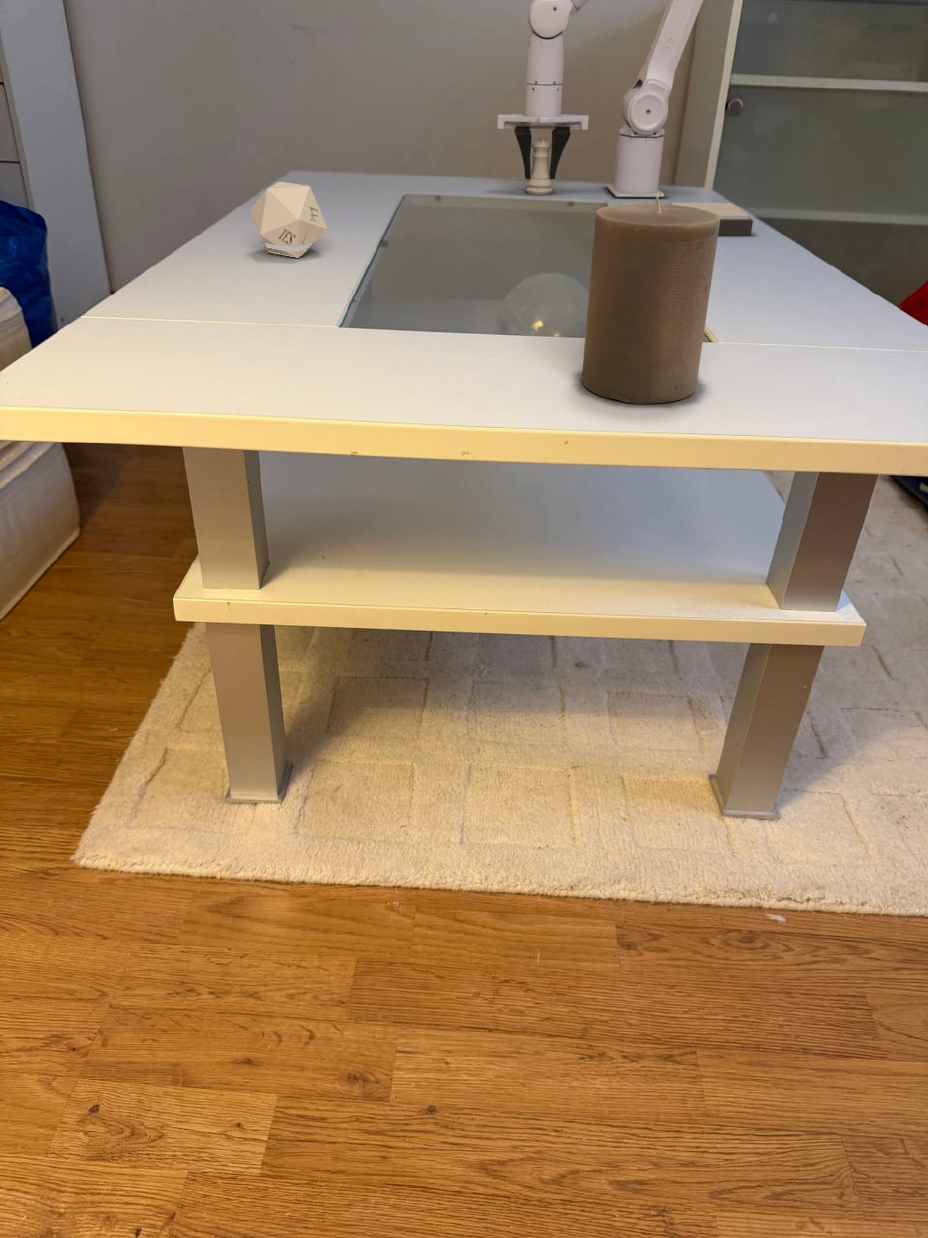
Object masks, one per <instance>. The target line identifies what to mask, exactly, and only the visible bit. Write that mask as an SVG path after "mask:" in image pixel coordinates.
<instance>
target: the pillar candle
mask: <svg viewBox="0 0 928 1238" xmlns="http://www.w3.org/2000/svg"><path fill="white" fill-rule="evenodd" d="M659 198H660V197H658V195H656V197H655V201H656V203H650V202H648V203H647V202H646V203H645V202H628V203H620V204H613V205H612V204H611V205H607V206H603V207H601V208H598V209H597V210H596V212H595V219H594V221H595V222H594V230H593V231H594V232H593V241H592V242H593V243H592V256H591V266H590V275H589V289H588V300H587V310H586V323H585V335H584V347H583V359H582V360H583V361H582V369H581V370H582V371H581V377H582V382H583V385H584V387H585V388H586V389H587V390H588V391H590V392H591V393H593V394H596V395H598V396H600V397H603V398H606V399H607V398H609V399H611V400H617V401H620V402H624V403H630V404H634V405H645V404H646V405H647V404H664V403H671V402H676V401H679V400H684V399H686V398H689V397H690V396H692V395H693V394H694V393H695V391H696V389H697V385H698V377H699V370H700V363H701V356H702V350H703V343H704V336H705V328H706V320H707V315H708V307H709V301H710V294H711V287H712V280H713V273H714V266H715V259H716V253H717V244H718V239H719V236H718V232H719V225H720V216H719V215H718V214H717V213H714V212H713V211H709V210H702V209H698V208H694V207H688V206H680V205H670V204H666V203H660V199H659Z"/></svg>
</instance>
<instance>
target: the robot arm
mask: <svg viewBox="0 0 928 1238" xmlns="http://www.w3.org/2000/svg"><path fill="white" fill-rule="evenodd" d="M589 1H590V0H533V1H532V2H531V4H530V6H529V9H528V13H527V15H526V17H527V23H528V26H529V28H530V30H531V31H529V35H528V46H529V47H528V49H527V52H526V53H527V55H526V76H525V77H526V79H525V103H524V104H525V106H524V107H525V108H524V113H511V114H505V113H504V114H497V115H496V129H497V130H507V129H509V130H513V132H514V135H515V137H516V141H517V143H518V146H519V150H520V154H521V158H522V161H523V162H522V164H523V170H524V178H525V180H528V179H530V175H531V172H532V170H531V154H532V153H531V151H532V146H531V145H532V138H533V135H532V130H533V129H534V130H551V150H550V151H551V155H550V163H549V176H550V179H551V180H556V174H557V170H558V167H559V163H560V160H561V158H562V155H563V152H564V150H565V148H566V145H567V144H568V142H569V140H570V137H571V133H572V132H571V130H582V131H588V130H589V120H590V119H589V118H590V116H589V115H588V114H568V113H567V114H564V113H562V101H563V100H562V99H563V85H564V67H565V66H564V64H565V49H564V38H565V30H566V28H567V26H568V23H569V20H570V16H571V15H577V14H578V13H579V12H580V11H581V10H582V8H584V6H585V5H586V4H587V3H588V2H589ZM703 2H704V0H668V2H667V4H666V7H665V10H664V13H663V15H662V18H661V20H660V23H659V26H658V28H657V31H656V34H655V36H654V38H653V41H652V44H651V47H650V49H649V51H648V54H647V57H646V60H645V62H644V64H643V65H642V67H641V69H640V70H639V73H638V74H637V78H636V80H635V82H634V84H633V85H632V86H631V87H630V88H629V89H628V90H627V91H626V93H625V94H624V95H623V97H622V100H621V105H620V111H621V116H622V118H623V120H624V122H625V123H624V124H623V126H622V127H621V128H620V129H619V130H618V131H619V132H618V133H619V134H618V140H617V141H618V142H617V145H616V147H615V157H614V168H613V179H612V184H609V183H608V184H606V188H607V189H608V190H609V191H610V192H611V193H612V194H613V195H614V197H616V198H656V195H658V198H665V193H664V192H663V191H661V190H660V189H659V187H660V178H661V177H660V176H661V168H662V160H663V159H662V158H663V150H664V141H665V132H666V131H665V129H664V128H662V127H663V126H664V124H665V123H666V120H667V119H668V115H669V98H670V94H671V92H672V89H673V86H674V80H675V74H676V71H677V69H678V66H679V62H680V60H681V57H682V55H683V53H684V50H685V47H686V45H687V42H688V40H689V37H690V35H691V32H692V30H693V28H694V25H695V22H696V20H697V17H698V16H699V15H698V14H699V12H700V9H701V7H702V4H703Z"/></svg>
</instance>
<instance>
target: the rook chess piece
mask: <svg viewBox="0 0 928 1238" xmlns="http://www.w3.org/2000/svg"><path fill="white" fill-rule="evenodd" d="M550 140H551V139H550V138H546V137H543V139H542V137H538V138H537V137H535V138H534V139H533V142H532V143H531V149H532V150H533V154H532V156H531V157H532V158H533V159H532V166H531V173H530V179H527V180H526V185H527V186H528V187H527V188H525V190H526V193H528V194H529V195H535V196H536V195H539V196H540V195H543V196H544V195H549V194H551V193H552V191H553V188H552V187H551V186H552V185H553V181H552V179H550V176H549V173H550V170H549V158H550V153H549V151H550V149H551V148H552V143H550Z"/></svg>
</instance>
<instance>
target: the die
mask: <svg viewBox="0 0 928 1238" xmlns="http://www.w3.org/2000/svg"><path fill="white" fill-rule="evenodd" d="M249 214H250V215H251V218H252V220H253V223H254V225H255V228H256V230H257V232H258V234H259V237H260V239H261V240H263V241H262V243H263V242H264V243H268V244H273V245H286V246H287V245H289V246H300V245H301V244H302V245H307V244H312V243H314V244H316V243H317V242H318V241H319V240H320V238H322V237H323V235H324V234H326V233H327V231H328V230H329V228H328V226H327V223H326V221H325V219H324V216H323V214H322V212H321V209H320V207H319V205H318V202H317V200H316V197H315V195H314V193H313V190H312V188H311V186H310V185H305V184H299V183H292V182H285V181H277V182H276V183H274V184H272V185H271V186H269V187H267V188H266V189H265V191H263V193H262V194H261V196H260V197H259V198H258V199H257V201H255V203H254V204H253V205H252V207H251V208H250V209H249ZM264 243H263V244H264ZM265 250H266V252H267V251H271V252H275V253H280V254H284V255H289V256H293V257H300V256H301V257H302V256H303V255H304V254H305V253H307V252H308V251H309V250H308V249H307V250H302V251H282V250H277V249H272V248H267V247H265ZM301 257H300V258H301Z"/></svg>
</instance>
